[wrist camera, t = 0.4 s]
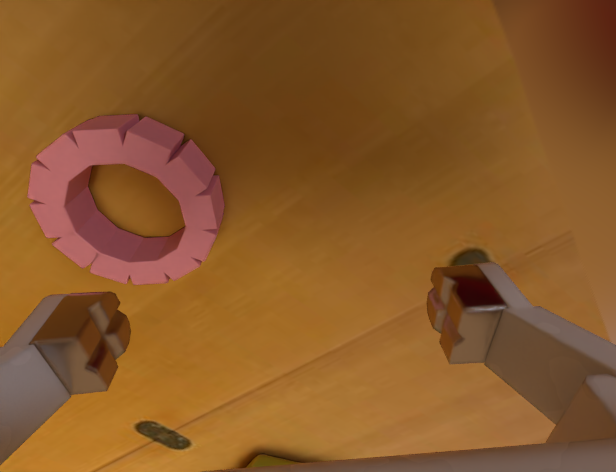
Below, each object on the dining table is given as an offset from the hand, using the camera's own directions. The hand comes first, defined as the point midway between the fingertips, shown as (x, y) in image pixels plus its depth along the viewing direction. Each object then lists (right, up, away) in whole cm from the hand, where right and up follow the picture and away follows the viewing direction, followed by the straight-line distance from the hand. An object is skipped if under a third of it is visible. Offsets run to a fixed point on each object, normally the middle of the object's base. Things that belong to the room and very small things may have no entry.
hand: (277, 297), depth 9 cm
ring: (-9, +4, +13) cm, 17 cm away
